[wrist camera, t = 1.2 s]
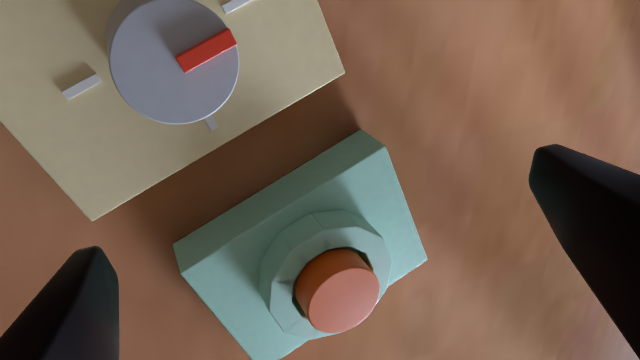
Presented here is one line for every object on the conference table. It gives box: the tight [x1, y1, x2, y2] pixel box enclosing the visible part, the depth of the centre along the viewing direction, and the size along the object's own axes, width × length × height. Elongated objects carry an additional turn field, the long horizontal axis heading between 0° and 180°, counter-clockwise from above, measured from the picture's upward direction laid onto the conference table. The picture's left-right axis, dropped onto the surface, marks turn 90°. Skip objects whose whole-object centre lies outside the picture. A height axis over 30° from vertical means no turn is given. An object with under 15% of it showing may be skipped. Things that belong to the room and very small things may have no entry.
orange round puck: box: [295, 249, 380, 333], centre depth 24 cm, size 4×4×2 cm
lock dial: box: [105, 0, 239, 124], centre depth 17 cm, size 4×4×4 cm
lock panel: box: [0, 0, 345, 221], centre depth 19 cm, size 13×10×3 cm
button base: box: [173, 129, 427, 360], centre depth 26 cm, size 12×9×4 cm
